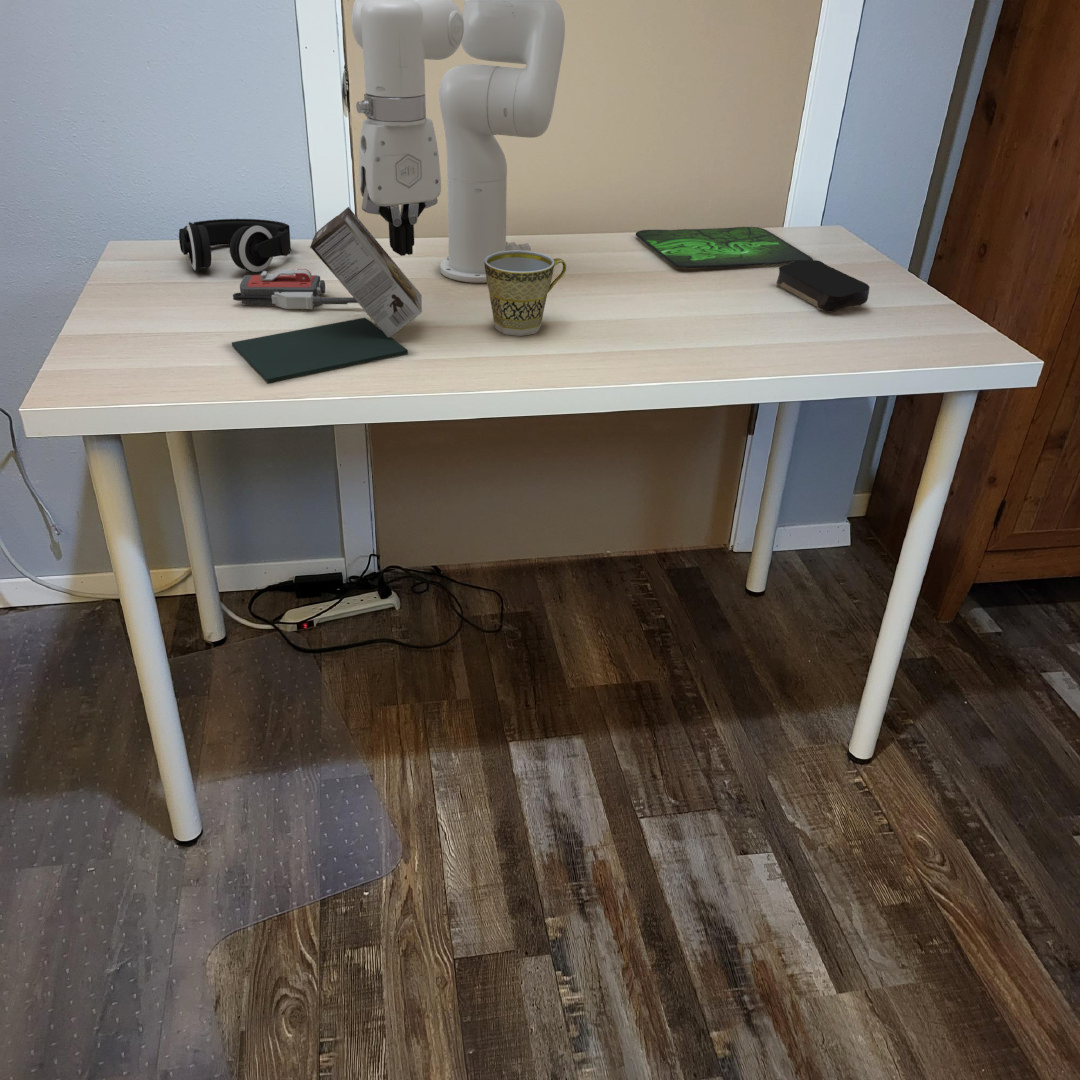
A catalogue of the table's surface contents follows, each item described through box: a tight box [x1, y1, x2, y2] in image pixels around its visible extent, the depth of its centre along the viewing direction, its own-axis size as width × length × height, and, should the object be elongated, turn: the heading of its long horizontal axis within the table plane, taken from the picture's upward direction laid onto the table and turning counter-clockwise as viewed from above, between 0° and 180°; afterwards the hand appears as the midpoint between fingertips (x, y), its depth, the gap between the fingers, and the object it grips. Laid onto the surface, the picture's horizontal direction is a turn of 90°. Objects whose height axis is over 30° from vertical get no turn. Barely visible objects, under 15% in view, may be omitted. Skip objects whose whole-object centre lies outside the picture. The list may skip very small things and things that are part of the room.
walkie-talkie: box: [232, 268, 359, 310], centre depth 149 cm, size 9×4×20 cm
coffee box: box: [309, 206, 423, 338], centre depth 137 cm, size 9×6×16 cm
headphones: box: [178, 218, 292, 274], centre depth 164 cm, size 18×8×20 cm
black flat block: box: [776, 259, 871, 313], centre depth 159 cm, size 16×8×4 cm, turn 22°
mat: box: [231, 317, 409, 384], centre depth 135 cm, size 20×14×1 cm
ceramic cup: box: [484, 250, 567, 337], centre depth 142 cm, size 13×10×10 cm
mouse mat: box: [635, 226, 814, 269], centre depth 179 cm, size 27×22×1 cm
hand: (402, 252), depth 134 cm, fingers closed
